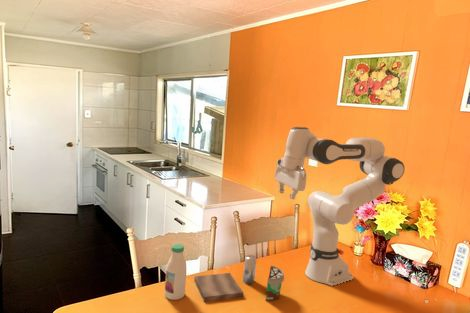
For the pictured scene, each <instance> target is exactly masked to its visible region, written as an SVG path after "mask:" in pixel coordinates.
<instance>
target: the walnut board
mask: <svg viewBox="0 0 470 313" xmlns="http://www.w3.org/2000/svg"><path fill="white" fill-rule="evenodd" d="M193 281H194V283H195V286H196V287H197V289H198V290H197V291H199V293H200V296H201V298H202V300H203V302H205V303H208V302H215V301H222V300H231V299H239V298H243V297H244V291H243V290H242V288H241V287H240V285H239V284H238V282H237V281H236V279H235V278H234V277H233V275H232V274H231V272H226V273H216V274H206V275H205V274H204V275H196V276H195V275H194V278H193Z"/></svg>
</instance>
